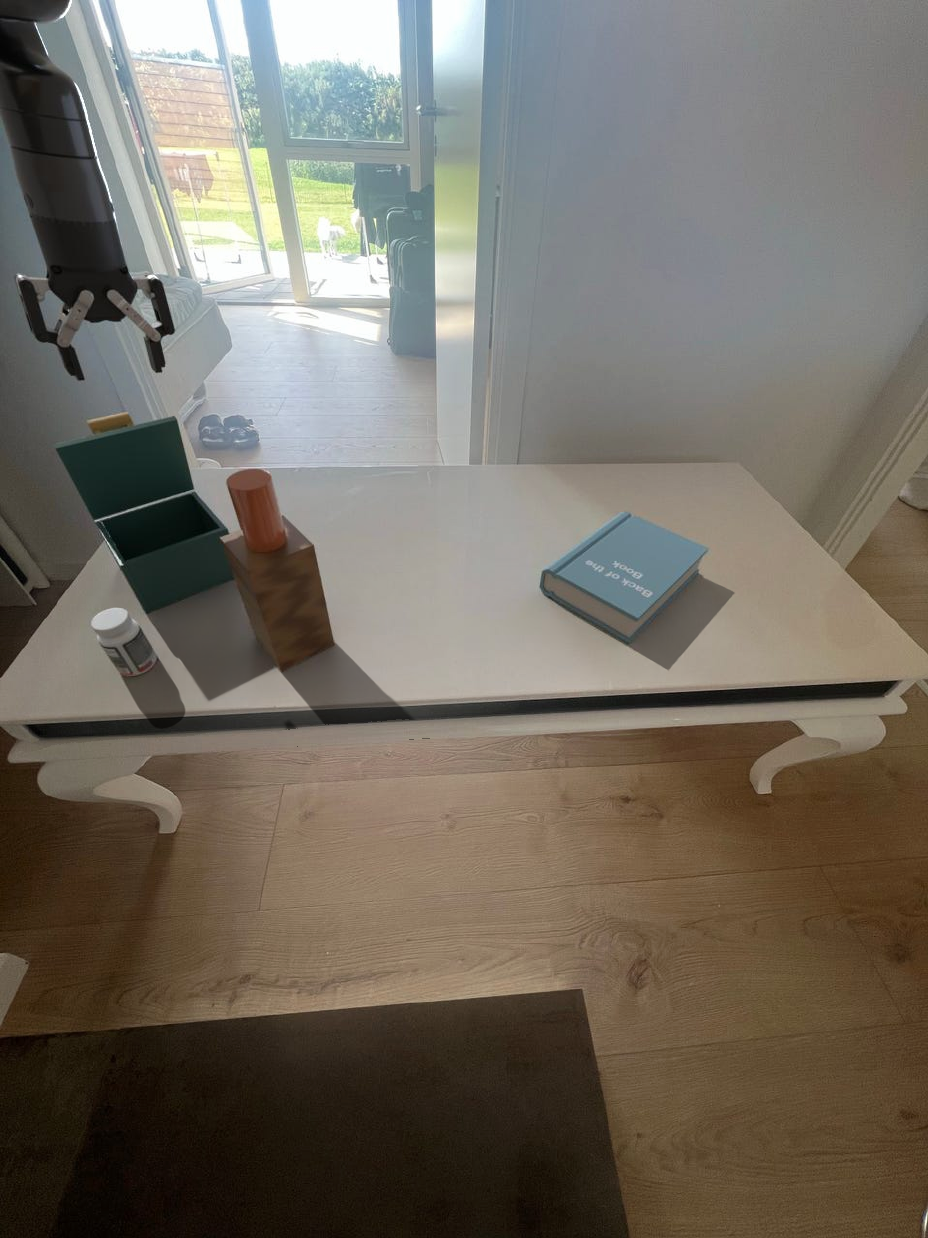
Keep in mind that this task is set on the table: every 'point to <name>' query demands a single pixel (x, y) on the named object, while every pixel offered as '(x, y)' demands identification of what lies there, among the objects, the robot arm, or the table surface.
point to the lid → (126, 463)
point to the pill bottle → (123, 641)
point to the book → (623, 574)
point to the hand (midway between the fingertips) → (119, 374)
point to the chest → (168, 549)
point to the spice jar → (257, 509)
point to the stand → (282, 596)
